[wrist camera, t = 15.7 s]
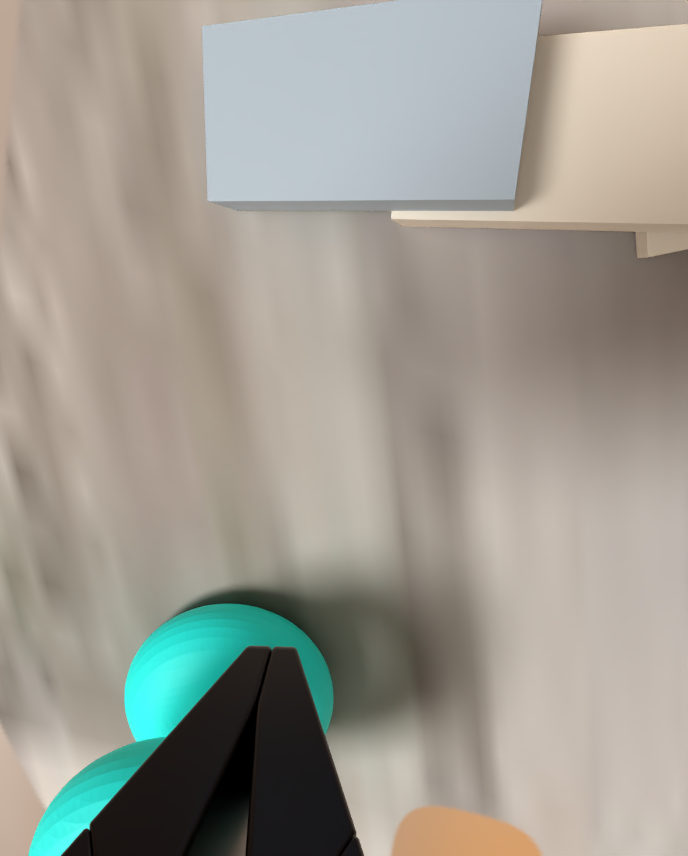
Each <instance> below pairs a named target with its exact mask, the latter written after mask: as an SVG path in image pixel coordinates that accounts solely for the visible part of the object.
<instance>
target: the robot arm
mask: <svg viewBox="0 0 688 856" xmlns="http://www.w3.org/2000/svg"><path fill="white" fill-rule="evenodd" d="M89 828H90V830H89V829H87V828H86V829H84V830H83V831H82V832H81V833H80V834H79V835H78V837H77V838H76V839H75V840H74V841H73V842H72V843H71V844H70V846H69V847H68V848H67V849H66V850H65V851H64V852H63V853H62V855H61V856H364V854H363V851H362V848H361V844H360V841H359V839H358V838H357V837H356V830H355V827H354V824H353V821H352V818H351V815H350V811H349V808H348V805H347V802H346V799H345V796H344V793H343V790H342V787H341V784H340V781H339V777H338V774H337V771H336V768H335V765H334V762H333V759H332V756H331V753H330V750H329V747H328V743H327V740H326V737H325V734H324V731H323V728H322V725H321V722H320V719H319V716H318V713H317V709H316V706H315V703H314V700H313V697H312V694H311V691H310V688H309V685H308V682H307V679H306V676H305V672H304V669H303V666H302V663H301V660H300V657H299V654H298V651H297V649H296V648H295V647H280V646H276V647H274V648H273V649H271V648H270V647H269V646H248V647H247V648H245V649H244V651H243V652H242V653H241V654H240V655H239V656H238V657H237V658H236V660H235V661H234V662H233V663H232V664H231V665H230V666H229V667H228V669H227V670H226V671H225V672H224V673H223V674H222V675H221V676H220V678H219V679H218V680H217V681H216V682H215V683H214V684H213V685H212V687H211V688H210V689H209V690H208V691H207V692H206V693H205V694H204V695H203V697H202V698H201V699H200V700H199V701H198V702H197V703H196V704H195V706H194V707H193V708H192V709H191V710H190V711H189V712H188V713H187V715H186V716H185V717H184V718H183V719H182V720H181V721H180V722H179V724H178V725H177V726H176V727H175V728H174V729H173V730H172V731H171V733H170V734H169V735H168V736H167V737H166V738H165V739H164V740H163V742H162V743H161V744H160V745H159V746H158V747H157V748H156V749H155V751H154V752H153V753H152V754H151V755H150V756H149V757H148V758H147V760H146V761H145V762H144V763H143V764H142V765H141V766H140V767H139V768H138V770H137V771H136V772H135V773H134V774H133V775H132V776H131V777H130V779H129V780H128V781H127V782H126V783H125V784H124V785H123V786H122V788H121V789H120V790H119V791H118V792H117V793H116V794H115V795H114V797H113V798H112V799H111V800H110V801H109V802H108V803H107V804H106V806H105V807H104V808H103V809H102V810H101V811H100V812H99V813H98V815H97V816H96V817H95V818H94V819H93V820H92V821H91V822H90V825H89Z"/></svg>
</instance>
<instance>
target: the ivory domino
mask: <svg viewBox="0 0 688 856" xmlns="http://www.w3.org/2000/svg"><path fill="white" fill-rule="evenodd" d="M391 219H392V220H393V221H395V222H396V223H398V224H399V225H400V226H405V227H451V228H497V229H543V230H589V231H635V232H681V233H688V24H681V25H669V26H657V27H645V28H632V29H620V30H608V31H596V32H583V33H571V34H559V35H547V36H538V39H537V46H536V53H535V61H534V68H533V75H532V82H531V89H530V97H529V104H528V111H527V118H526V125H525V133H524V140H523V147H522V154H521V161H520V169H519V176H518V183H517V190H516V197H515V204H514V211H392V214H391Z"/></svg>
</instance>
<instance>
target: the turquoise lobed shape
mask: <svg viewBox="0 0 688 856" xmlns="http://www.w3.org/2000/svg"><path fill="white" fill-rule="evenodd" d="M248 646H269V647H270V648H271V649H273V648H274V647H276V646H280V647H295V648H296V649H297V651H298V654H299V657H300V660H301V663H302V666H303V669H304V672H305V676H306V679H307V682H308V685H309V688H310V691H311V694H312V697H313V700H314V703H315V706H316V709H317V713H318V716H319V719H320V722H321V725H322V728H323V731H324V734H325V735H326V732H327V730H328V727H329V724H330V720H331V716H332V712H333V684H332V679H331V676H330V672H329V669H328V666H327V664H326V662H325V659H324V657H323V656H322V654H321V652H320V651H319V649H318V648H317V646H316V645H315V644H314V643H313V642H312V640H311V639H310V638H309V637H308V636H307V635H306V634H305V633H304V632H303V631H302V630H301V629H300V628H298V627H297V626H296V625H294V624H293V623H292V622H290V621H288V620H287V619H285V618H283V617H281V616H279V615H277V614H275V613H273V612H270V611H268V610H265V609H262V608H258V607H254V606H249V605H242V604H213V605H207V606H202V607H198V608H195V609H192V610H189V611H186V612H184V613H182V614H179V615H177V616H175V617H173V618H172V619H170V620H168V621H167V622H165V623H164V624H163V625H161V626H160V627H159V628H158V629H157V630H155V631H154V632H153V633H152V634H151V635H150V636H149V637H148V638H147V639H146V641H145V642H144V643H143V644H142V646H141V647H140V649H139V651H138V652H137V654H136V656H135V657H134V659H133V661H132V664H131V666H130V669H129V672H128V676H127V679H126V684H125V711H126V716H127V720H128V723H129V726H130V729H131V731H132V734H133V736H134V738H135V740H136V741H137V742H135V743H132V744H129V745H126V746H123V747H121V748H119V749H117V750H114V751H112V752H110V753H108V754H106V755H104V756H102V757H101V758H99V759H97V760H95V761H94V762H92V763H91V764H89V765H88V766H87V767H85V768H84V769H83V770H82V771H80V772H79V773H78V774H77V775H76V776H74V777H73V778H72V779H71V780H70V781H69V782H68V783H67V784H66V785H65V786H64V787H63V788H62V790H61V791H60V792H59V793H58V794H57V796H56V797H55V798H54V799H53V801H52V802H51V803H50V805H49V807H48V808H47V810H46V812H45V814H44V816H43V817H42V819H41V821H40V822H39V825H38V827H37V829H36V832H35V835H34V838H33V841H32V844H31V847H30V850H29V855H28V856H61V855H62V853H63V852H64V851H65V850H66V849H67V848H68V847H69V846H70V844H71V843H72V842H73V841H74V840H75V839H76V838H77V837H78V835H79V834H80V833H81V832H82V831H83V830H84V829H86V828H87V829H89V830H90V828H89V825H90V822H91V821H92V820H93V819H94V818H95V817H96V816H97V815H98V813H99V812H100V811H101V810H102V809H103V808H104V807H105V806H106V804H107V803H108V802H109V801H110V800H111V799H112V798H113V797H114V795H115V794H116V793H117V792H118V791H119V790H120V789H121V788H122V786H123V785H124V784H125V783H126V782H127V781H128V780H129V779H130V777H131V776H132V775H133V774H134V773H135V772H136V771H137V770H138V768H139V767H140V766H141V765H142V764H143V763H144V762H145V761H146V760H147V758H148V757H149V756H150V755H151V754H152V753H153V752H154V751H155V749H156V748H157V747H158V746H159V745H160V744H161V743H162V742H163V740H164V739H165V738H166V737H167V736H168V735H169V734H170V733H171V731H172V730H173V729H174V728H175V727H176V726H177V725H178V724H179V722H180V721H181V720H182V719H183V718H184V717H185V716H186V715H187V713H188V712H189V711H190V710H191V709H192V708H193V707H194V706H195V704H196V703H197V702H198V701H199V700H200V699H201V698H202V697H203V695H204V694H205V693H206V692H207V691H208V690H209V689H210V688H211V687H212V685H213V684H214V683H215V682H216V681H217V680H218V679H219V678H220V676H221V675H222V674H223V673H224V672H225V671H226V670H227V669H228V667H229V666H230V665H231V664H232V663H233V662H234V661H235V660H236V658H237V657H238V656H239V655H240V654H241V653H242V652H243V651H244V649H245V648H247V647H248Z"/></svg>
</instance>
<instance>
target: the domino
mask: <svg viewBox="0 0 688 856" xmlns="http://www.w3.org/2000/svg"><path fill="white" fill-rule="evenodd" d="M541 8H542V0H397V1H389V2H382V3H374V4H366V5H359V6H351V7H344V8H336V9H328V10H321V11H313V12H306V13H298V14H291V15H283V16H275V17H268V18H260V19H253V20H245V21H238V22H230V23H222V24H215V25H207V26H202V41H203V72H204V103H205V133H206V164H207V195H208V202H211V203H215V204H218V205H221V206H224V207H228V208H231V209H234V210H237V211H514V204H515V197H516V190H517V183H518V176H519V169H520V161H521V154H522V147H523V140H524V133H525V125H526V118H527V111H528V104H529V97H530V89H531V82H532V75H533V68H534V61H535V53H536V46H537V39H538V32H539V25H540V17H541Z"/></svg>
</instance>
